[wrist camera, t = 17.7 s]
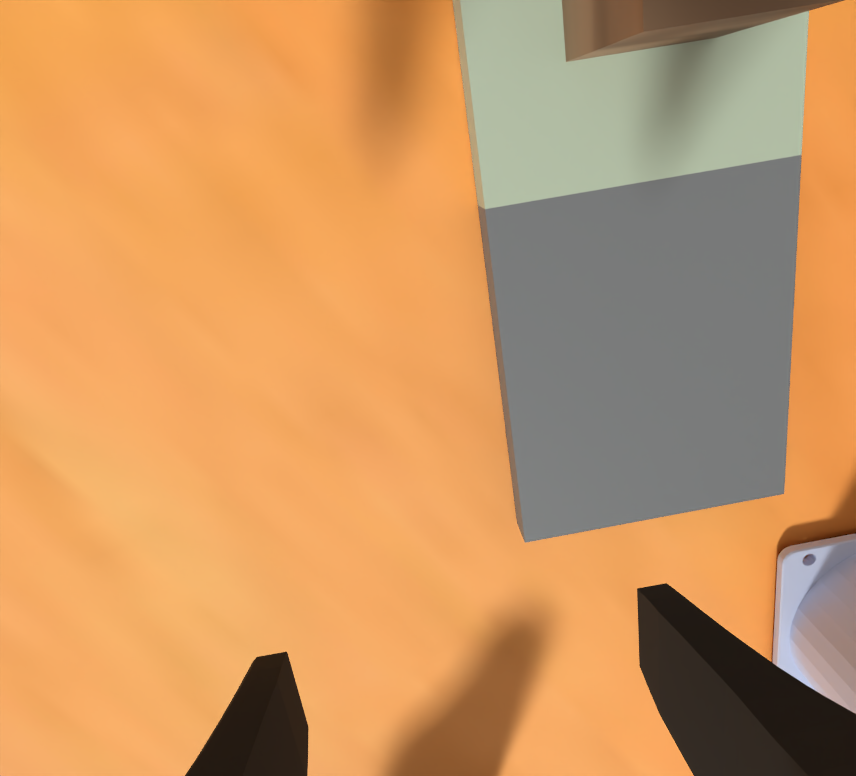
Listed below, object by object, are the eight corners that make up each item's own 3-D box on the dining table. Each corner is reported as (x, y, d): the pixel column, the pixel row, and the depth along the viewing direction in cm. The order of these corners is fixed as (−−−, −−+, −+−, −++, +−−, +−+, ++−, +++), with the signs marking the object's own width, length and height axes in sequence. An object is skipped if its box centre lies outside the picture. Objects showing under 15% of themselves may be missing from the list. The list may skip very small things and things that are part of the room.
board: (794, -338, 15) (828, -376, 14) (763, 476, 23) (784, 493, 22) (418, -281, 15) (422, -316, 14) (517, 523, 23) (524, 542, 22)
